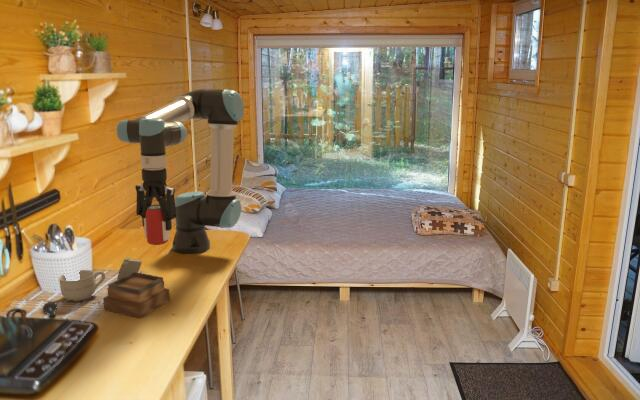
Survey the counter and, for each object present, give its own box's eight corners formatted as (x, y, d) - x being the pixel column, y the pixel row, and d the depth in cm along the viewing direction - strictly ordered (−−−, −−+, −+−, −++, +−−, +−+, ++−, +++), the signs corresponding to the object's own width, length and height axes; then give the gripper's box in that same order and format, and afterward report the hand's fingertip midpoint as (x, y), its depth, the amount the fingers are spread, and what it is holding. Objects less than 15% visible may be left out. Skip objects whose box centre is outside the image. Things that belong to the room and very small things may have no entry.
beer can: (157, 246, 175) (155, 210, 173) (142, 243, 179) (140, 207, 176) (172, 241, 181) (171, 206, 178) (158, 238, 184) (156, 203, 181)
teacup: (62, 307, 173) (59, 283, 171) (60, 294, 182) (57, 271, 180) (109, 299, 179) (107, 276, 177) (104, 287, 189) (103, 265, 187)
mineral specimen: (143, 282, 193) (142, 260, 191) (117, 286, 190) (116, 264, 188) (141, 275, 200) (140, 254, 198) (116, 278, 196) (114, 257, 194)
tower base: (135, 293, 184) (133, 270, 182) (169, 300, 179) (168, 276, 177) (104, 309, 172) (102, 285, 170) (140, 318, 166) (138, 293, 164)
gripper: (120, 167, 174) (125, 237, 180) (172, 172, 167) (175, 245, 173) (137, 163, 181) (141, 231, 186) (186, 168, 174) (189, 238, 179)
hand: (157, 238), depth 179 cm, fingers closed on beer can, 6 cm apart
